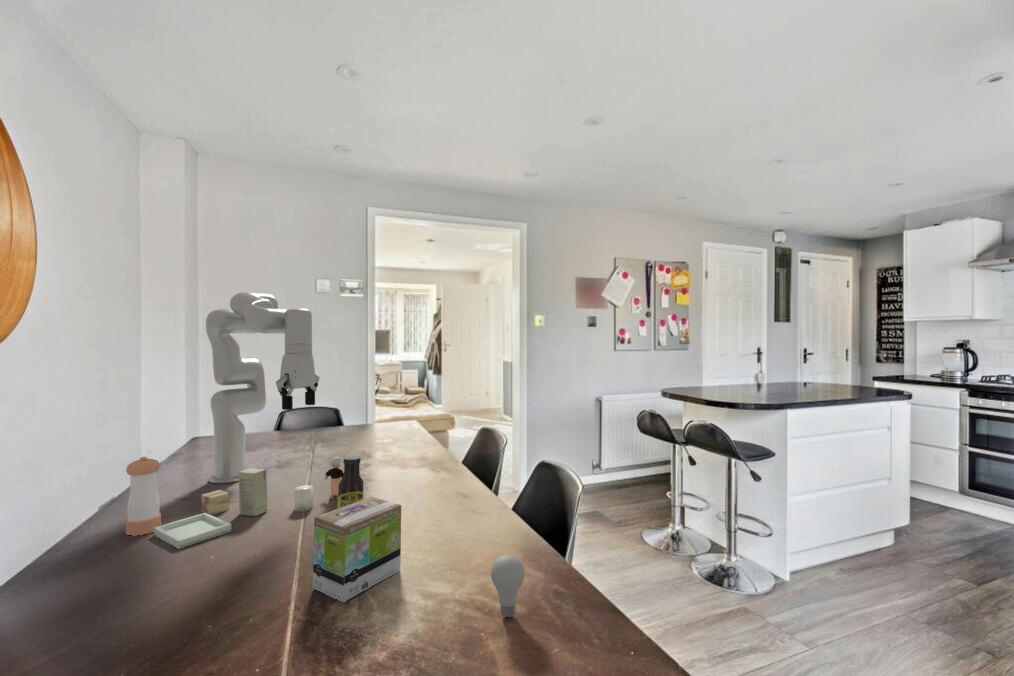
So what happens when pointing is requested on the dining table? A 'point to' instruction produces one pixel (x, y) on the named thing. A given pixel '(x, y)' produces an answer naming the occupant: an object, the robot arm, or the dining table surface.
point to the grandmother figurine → (335, 476)
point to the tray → (192, 530)
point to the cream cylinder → (303, 498)
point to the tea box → (356, 547)
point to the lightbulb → (507, 581)
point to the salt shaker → (143, 497)
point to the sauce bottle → (350, 483)
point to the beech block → (215, 502)
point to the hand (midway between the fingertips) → (299, 407)
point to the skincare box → (252, 491)
